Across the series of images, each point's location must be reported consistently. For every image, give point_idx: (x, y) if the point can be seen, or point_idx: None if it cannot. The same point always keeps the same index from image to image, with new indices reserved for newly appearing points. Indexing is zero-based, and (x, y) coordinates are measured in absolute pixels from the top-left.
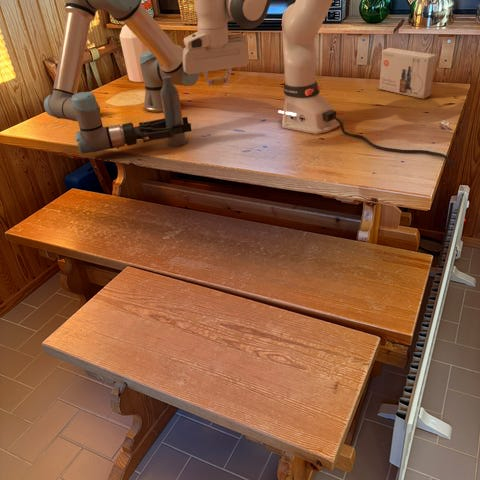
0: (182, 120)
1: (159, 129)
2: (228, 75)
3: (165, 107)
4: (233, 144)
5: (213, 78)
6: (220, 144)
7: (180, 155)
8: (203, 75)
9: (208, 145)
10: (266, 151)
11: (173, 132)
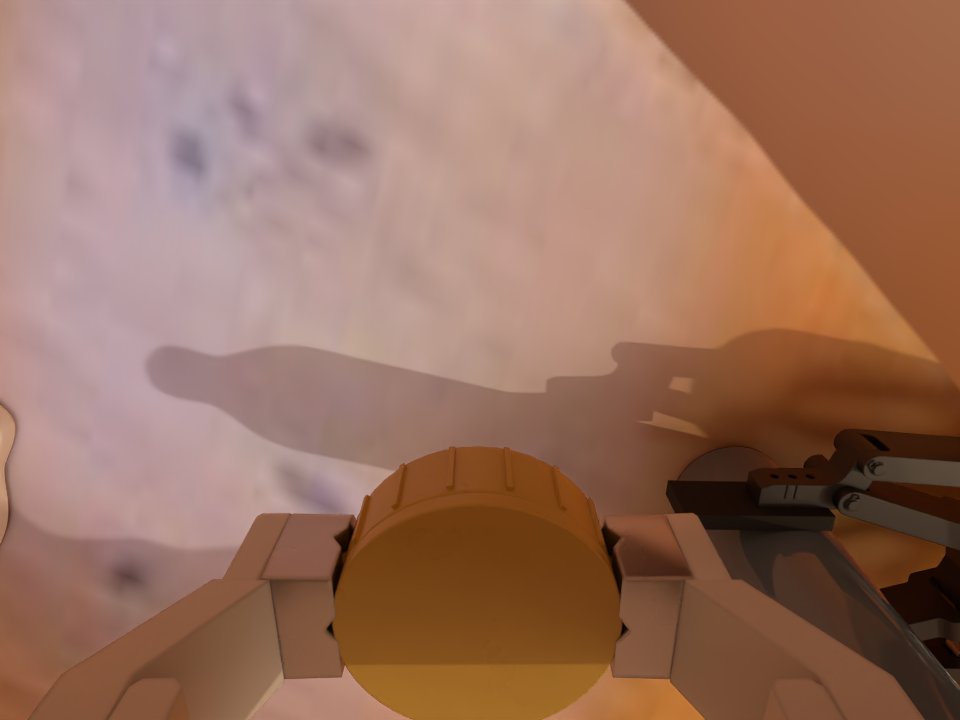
0: (735, 574)
1: (933, 517)
2: (204, 609)
3: (945, 669)
4: (399, 305)
5: (556, 672)
6: (483, 345)
7: (782, 293)
8: (885, 703)
9: (562, 366)
10: (192, 65)
11: (822, 472)
